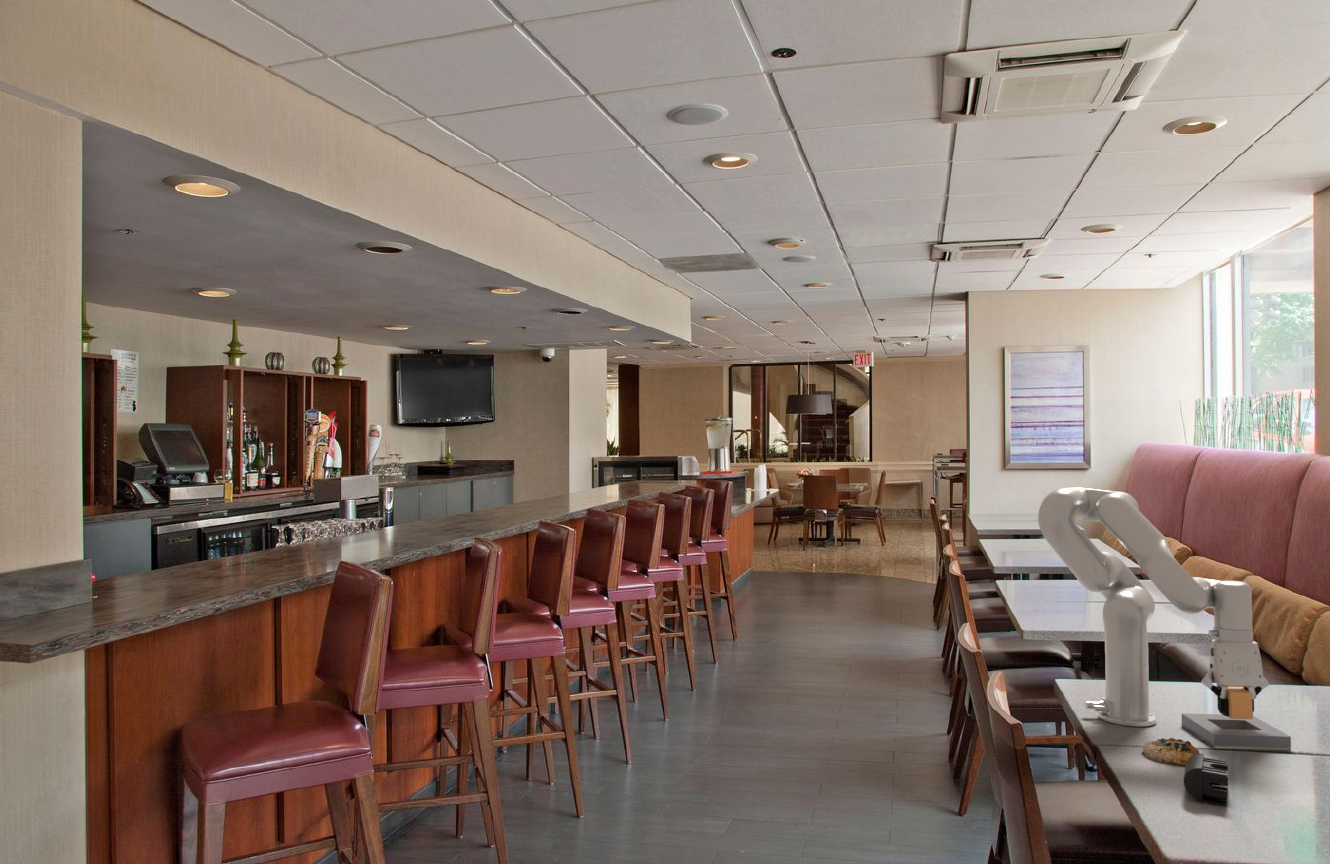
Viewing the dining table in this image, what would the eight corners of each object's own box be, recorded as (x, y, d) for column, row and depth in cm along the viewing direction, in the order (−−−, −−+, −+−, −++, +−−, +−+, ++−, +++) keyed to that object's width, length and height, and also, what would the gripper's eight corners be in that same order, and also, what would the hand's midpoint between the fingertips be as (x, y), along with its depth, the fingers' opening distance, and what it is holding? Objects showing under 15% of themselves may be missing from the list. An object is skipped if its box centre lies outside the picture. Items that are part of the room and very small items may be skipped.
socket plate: (1214, 748, 204) (1214, 734, 204) (1181, 726, 220) (1181, 713, 220) (1290, 750, 203) (1290, 736, 203) (1252, 728, 219) (1252, 715, 219)
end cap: (1186, 784, 183) (1186, 750, 183) (1228, 791, 179) (1227, 757, 180) (1183, 801, 175) (1183, 765, 175) (1227, 809, 171) (1226, 772, 171)
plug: (1231, 719, 209) (1230, 692, 209) (1219, 712, 214) (1218, 686, 214) (1252, 719, 208) (1251, 692, 208) (1240, 712, 214) (1239, 686, 214)
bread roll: (1193, 751, 203) (1192, 729, 202) (1207, 775, 192) (1207, 752, 192) (1137, 748, 206) (1137, 727, 205) (1149, 772, 195) (1148, 750, 195)
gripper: (1202, 638, 209) (1205, 719, 208) (1281, 638, 207) (1284, 720, 207) (1187, 632, 216) (1189, 709, 216) (1263, 632, 215) (1266, 710, 214)
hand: (1235, 714), depth 211 cm, fingers closed on plug, 4 cm apart
